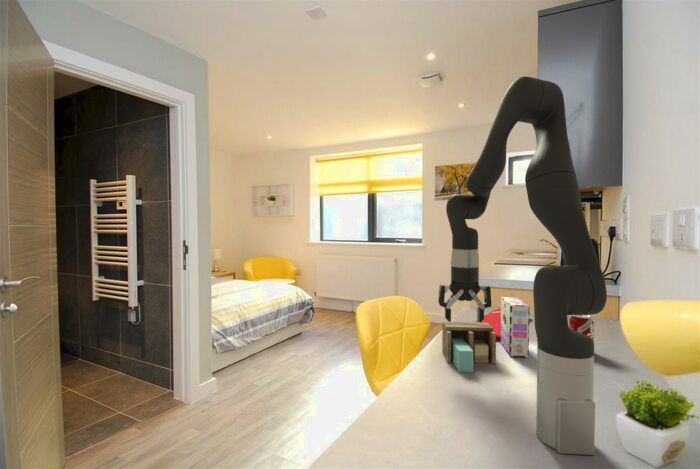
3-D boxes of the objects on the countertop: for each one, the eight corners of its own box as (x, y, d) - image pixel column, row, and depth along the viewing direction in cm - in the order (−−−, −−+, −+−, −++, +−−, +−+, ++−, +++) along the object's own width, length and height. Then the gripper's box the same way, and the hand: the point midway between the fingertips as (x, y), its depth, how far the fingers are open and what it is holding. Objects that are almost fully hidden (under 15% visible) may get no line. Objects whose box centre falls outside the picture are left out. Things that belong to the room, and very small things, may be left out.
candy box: (529, 358, 110) (530, 305, 109) (509, 357, 111) (509, 304, 110) (517, 344, 123) (518, 296, 123) (499, 342, 124) (500, 296, 124)
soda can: (569, 353, 114) (570, 316, 113) (567, 347, 120) (568, 311, 119) (594, 357, 111) (595, 318, 110) (591, 350, 117) (592, 314, 116)
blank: (473, 372, 100) (473, 351, 99) (458, 372, 100) (458, 350, 100) (462, 356, 112) (462, 337, 111) (449, 356, 112) (449, 337, 112)
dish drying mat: (460, 335, 135) (460, 325, 134) (494, 314, 166) (494, 306, 166) (504, 344, 125) (504, 333, 125) (531, 320, 157) (531, 311, 156)
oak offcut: (488, 362, 106) (488, 346, 106) (474, 362, 107) (474, 345, 107) (482, 355, 112) (482, 339, 112) (469, 355, 113) (469, 339, 113)
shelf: (495, 364, 105) (496, 330, 105) (447, 362, 106) (447, 329, 106) (486, 353, 114) (487, 322, 114) (442, 352, 115) (442, 321, 115)
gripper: (441, 266, 98) (441, 324, 98) (494, 266, 97) (494, 325, 97) (437, 263, 105) (436, 317, 106) (486, 263, 104) (486, 318, 105)
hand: (464, 321), depth 101 cm, fingers open, 8 cm apart
